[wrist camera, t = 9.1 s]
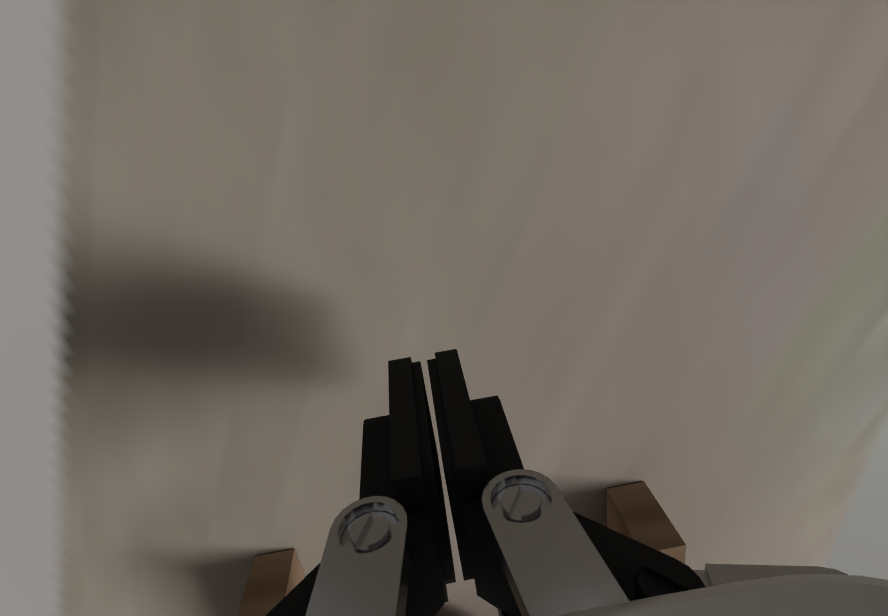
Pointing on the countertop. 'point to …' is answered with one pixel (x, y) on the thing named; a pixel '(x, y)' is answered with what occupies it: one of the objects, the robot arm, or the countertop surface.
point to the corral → (626, 514)
